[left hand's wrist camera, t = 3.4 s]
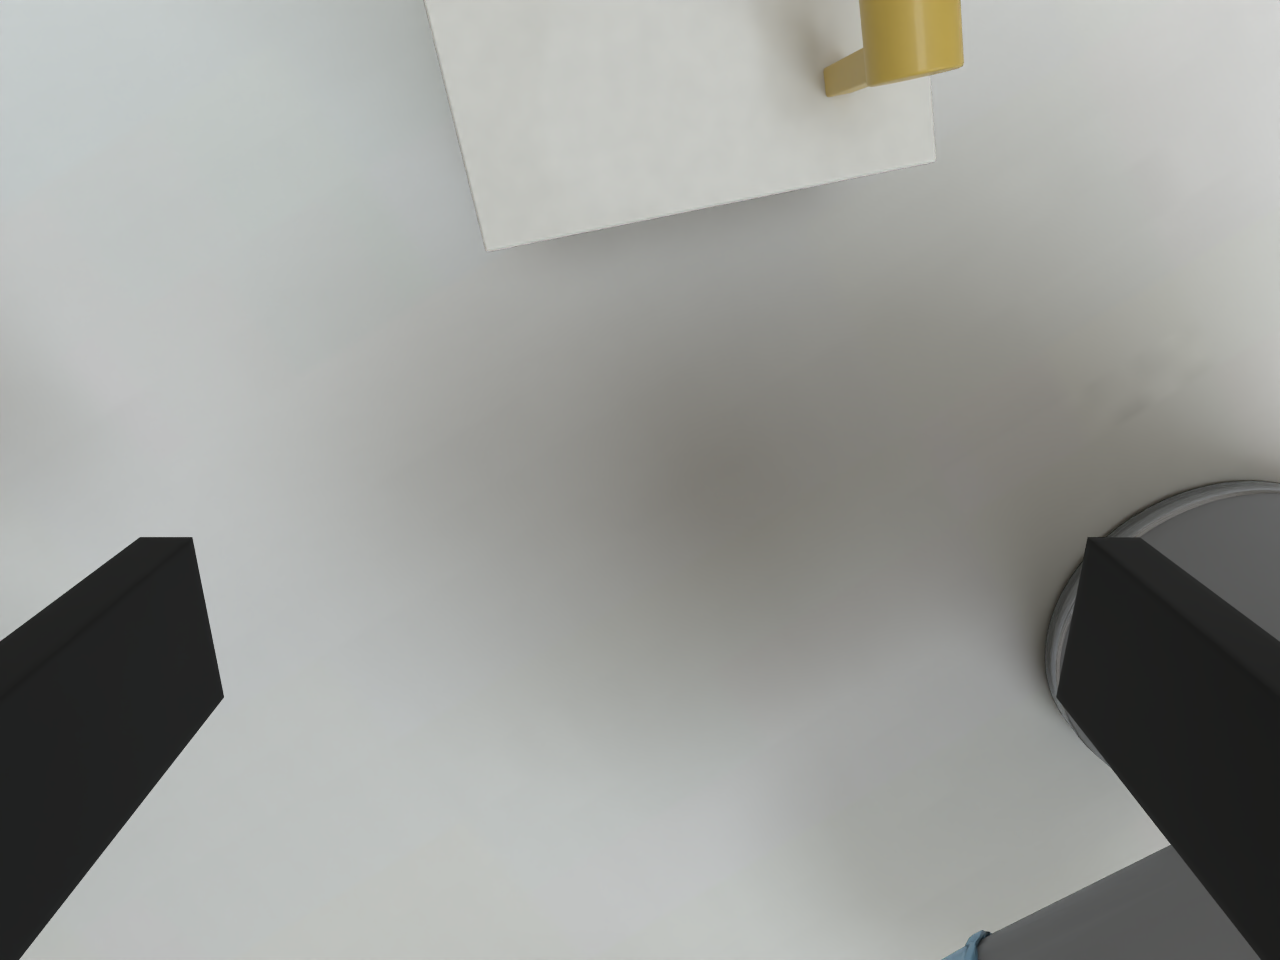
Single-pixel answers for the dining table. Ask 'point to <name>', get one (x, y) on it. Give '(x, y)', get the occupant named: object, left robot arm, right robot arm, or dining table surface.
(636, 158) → the panel with yellow handle
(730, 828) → the dining table surface
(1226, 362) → the dining table surface
